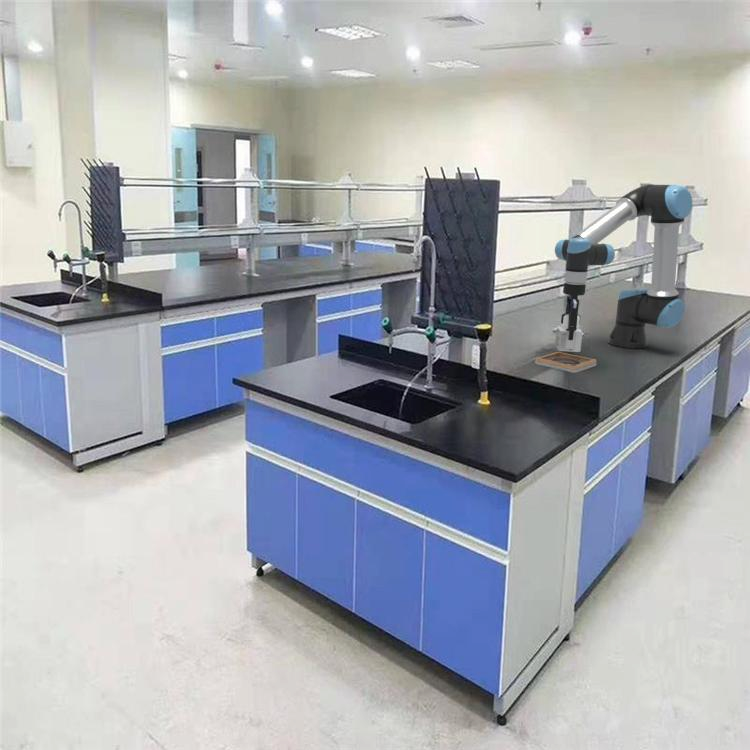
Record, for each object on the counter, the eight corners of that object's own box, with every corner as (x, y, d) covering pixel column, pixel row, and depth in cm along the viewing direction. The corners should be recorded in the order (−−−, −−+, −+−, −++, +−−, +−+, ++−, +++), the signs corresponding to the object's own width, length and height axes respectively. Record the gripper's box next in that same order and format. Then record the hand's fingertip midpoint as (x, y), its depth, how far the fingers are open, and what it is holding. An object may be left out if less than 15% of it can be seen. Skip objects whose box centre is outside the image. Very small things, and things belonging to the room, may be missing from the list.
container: (554, 346, 258) (558, 311, 254) (576, 347, 257) (580, 312, 253) (558, 351, 250) (562, 315, 247) (580, 352, 250) (584, 316, 246)
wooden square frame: (557, 357, 266) (557, 351, 265) (596, 365, 255) (597, 359, 255) (534, 363, 255) (535, 357, 254) (574, 373, 244) (575, 366, 244)
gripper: (561, 278, 257) (554, 338, 264) (567, 286, 238) (560, 351, 244) (581, 279, 256) (574, 340, 263) (590, 287, 237) (582, 353, 243)
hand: (567, 345), depth 253 cm, fingers closed on container, 8 cm apart
